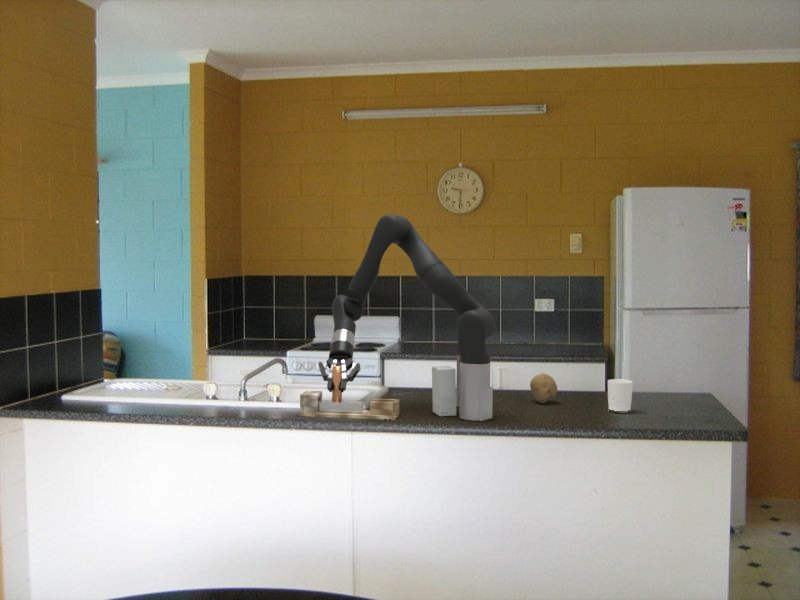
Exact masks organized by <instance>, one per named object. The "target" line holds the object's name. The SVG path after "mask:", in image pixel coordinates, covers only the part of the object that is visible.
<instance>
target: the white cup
mask: <svg viewBox="0 0 800 600" xmlns="http://www.w3.org/2000/svg"><path fill="white" fill-rule="evenodd" d="M633 385H634V381H632V380H630V379H624V378H623V379H620V378H618V379H616V378H612V379H608V380H607V403H608V410H609V409H610V410H614V411H628V410H630V411H631V408H632V407H631V405H632V399H633V389H634V387H633Z"/></svg>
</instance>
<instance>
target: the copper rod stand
mask: <svg viewBox="0 0 800 600" xmlns="http://www.w3.org/2000/svg"><path fill="white" fill-rule="evenodd" d="M342 379H343V376H342V366H332V392H331V400H330V399H329V400H325V399H322V400H318V411H320V412H346V413H362V412H363V410H364V401H360V400H359V401H358V400H356V401H354V400H353V401H352V400H343V392H341V390H340V388H341V380H342Z"/></svg>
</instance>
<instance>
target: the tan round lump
mask: <svg viewBox="0 0 800 600" xmlns="http://www.w3.org/2000/svg"><path fill="white" fill-rule="evenodd" d="M529 383H530V384H529V386H530V391H531V394H532V396H533V397H534V399H535V400H536V401H537V402H538V401H539V403H540V402H545V403H546V402H547V401H549V400H550V399H552V398H554V397H556V395H557V393H558V386H557V385H558V384H557V383H556V381H555V379H554V378H553V377H552V376H551V375H550V374H547V373H540V374H537V375H535V376H534V377H532V379H531V380H530V382H529Z"/></svg>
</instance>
